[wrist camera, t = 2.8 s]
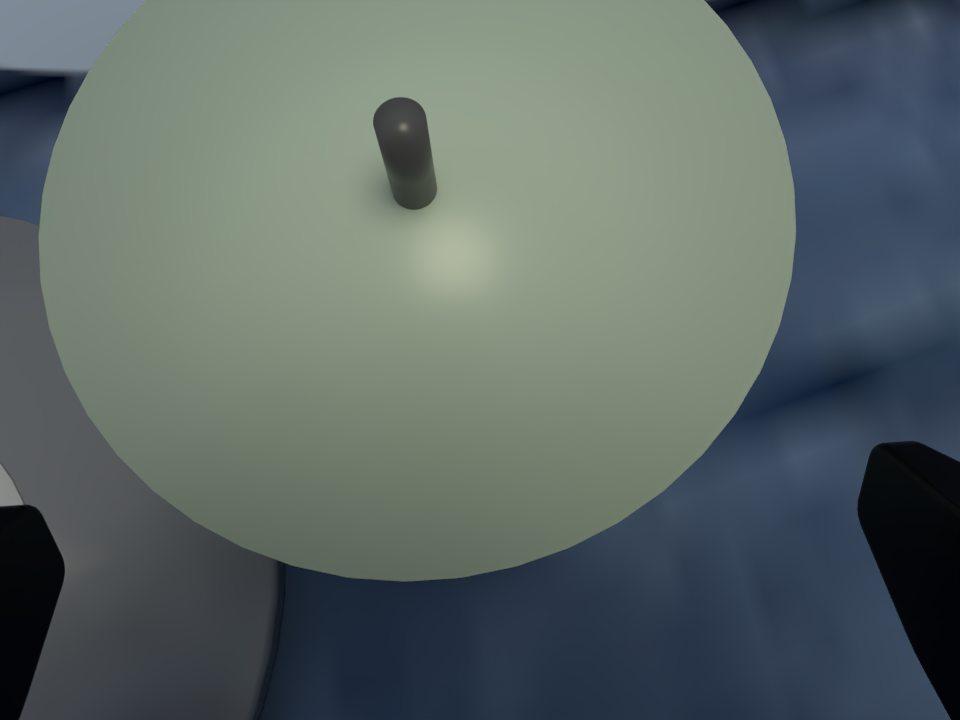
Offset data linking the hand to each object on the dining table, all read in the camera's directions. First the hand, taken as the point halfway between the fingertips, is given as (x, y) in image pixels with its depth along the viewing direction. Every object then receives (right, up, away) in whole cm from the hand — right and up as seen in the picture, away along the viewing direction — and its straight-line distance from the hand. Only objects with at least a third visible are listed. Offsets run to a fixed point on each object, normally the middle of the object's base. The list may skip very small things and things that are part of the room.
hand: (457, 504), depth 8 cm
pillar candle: (0, -1, +9) cm, 9 cm away
